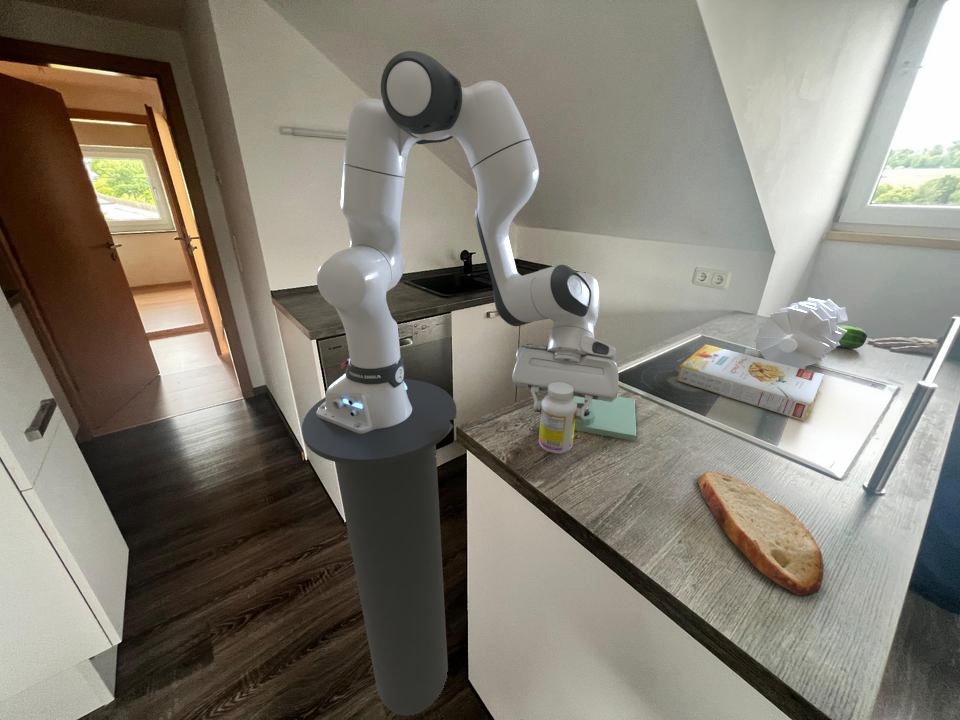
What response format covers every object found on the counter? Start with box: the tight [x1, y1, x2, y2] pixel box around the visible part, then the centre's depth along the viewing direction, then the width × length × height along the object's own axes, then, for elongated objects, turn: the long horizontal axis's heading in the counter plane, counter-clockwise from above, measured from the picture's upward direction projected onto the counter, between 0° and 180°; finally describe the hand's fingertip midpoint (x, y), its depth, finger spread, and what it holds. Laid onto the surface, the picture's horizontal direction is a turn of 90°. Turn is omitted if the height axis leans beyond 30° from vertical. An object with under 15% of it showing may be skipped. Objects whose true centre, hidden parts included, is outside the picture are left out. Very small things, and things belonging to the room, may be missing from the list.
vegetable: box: [836, 325, 868, 350], centre depth 129 cm, size 7×7×20 cm
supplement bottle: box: [538, 382, 577, 454], centre depth 74 cm, size 7×7×13 cm
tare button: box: [577, 403, 589, 416], centre depth 84 cm, size 3×3×2 cm
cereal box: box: [677, 343, 825, 422], centre depth 101 cm, size 20×6×28 cm
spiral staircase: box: [754, 297, 849, 370], centre depth 115 cm, size 18×18×25 cm
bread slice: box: [697, 471, 825, 597], centre depth 59 cm, size 18×18×4 cm
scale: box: [572, 395, 637, 442], centre depth 88 cm, size 14×16×3 cm
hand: (557, 415), depth 73 cm, fingers closed on supplement bottle, 6 cm apart
